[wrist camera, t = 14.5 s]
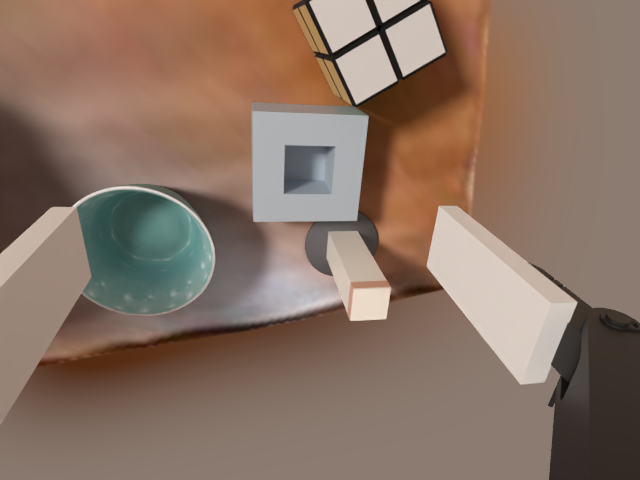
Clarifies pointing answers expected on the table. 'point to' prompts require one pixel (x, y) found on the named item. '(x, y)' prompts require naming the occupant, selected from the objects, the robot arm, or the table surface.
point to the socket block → (306, 162)
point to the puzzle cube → (370, 42)
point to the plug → (357, 276)
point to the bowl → (144, 249)
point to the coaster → (320, 229)
